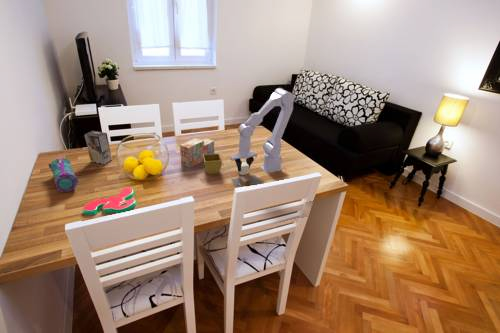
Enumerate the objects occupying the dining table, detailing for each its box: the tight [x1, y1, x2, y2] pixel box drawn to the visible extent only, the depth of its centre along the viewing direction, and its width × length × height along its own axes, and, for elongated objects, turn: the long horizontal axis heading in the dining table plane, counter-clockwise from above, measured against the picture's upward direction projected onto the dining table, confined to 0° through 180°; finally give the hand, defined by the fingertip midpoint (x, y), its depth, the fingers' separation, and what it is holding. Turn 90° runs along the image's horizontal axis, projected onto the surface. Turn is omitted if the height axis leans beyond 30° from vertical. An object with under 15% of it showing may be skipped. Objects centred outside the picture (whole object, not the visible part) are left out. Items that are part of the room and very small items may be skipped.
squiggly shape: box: [82, 186, 137, 216], centre depth 119 cm, size 20×16×2 cm
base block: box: [239, 174, 254, 187], centre depth 138 cm, size 5×5×4 cm
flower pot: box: [203, 152, 223, 175], centre depth 147 cm, size 9×9×9 cm
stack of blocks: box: [179, 137, 215, 168], centre depth 158 cm, size 21×6×12 cm, turn 147°
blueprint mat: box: [230, 174, 264, 187], centre depth 140 cm, size 14×14×1 cm
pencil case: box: [48, 157, 79, 193], centre depth 129 cm, size 21×9×10 cm, turn 39°
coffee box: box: [84, 130, 113, 165], centre depth 148 cm, size 9×6×16 cm
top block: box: [237, 161, 250, 176], centre depth 148 cm, size 4×4×5 cm
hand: (243, 170), depth 149 cm, fingers closed on top block, 4 cm apart
